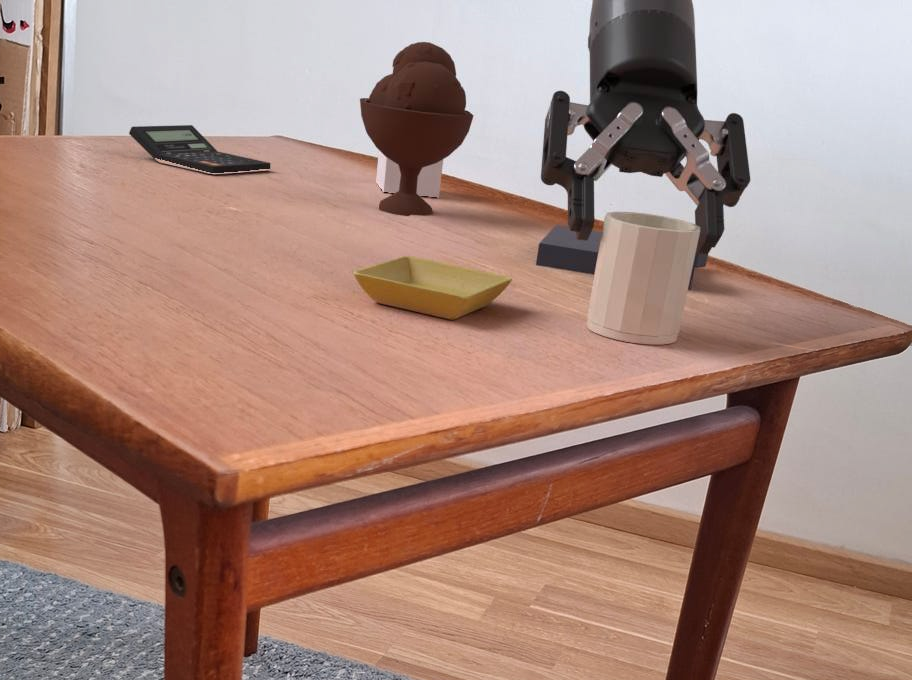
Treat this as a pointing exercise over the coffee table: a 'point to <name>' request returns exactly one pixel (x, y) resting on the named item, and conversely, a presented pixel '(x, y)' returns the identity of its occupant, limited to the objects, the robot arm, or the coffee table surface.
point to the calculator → (190, 149)
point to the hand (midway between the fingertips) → (646, 240)
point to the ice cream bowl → (416, 119)
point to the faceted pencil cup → (642, 277)
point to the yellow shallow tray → (430, 286)
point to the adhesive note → (391, 177)
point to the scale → (580, 252)
